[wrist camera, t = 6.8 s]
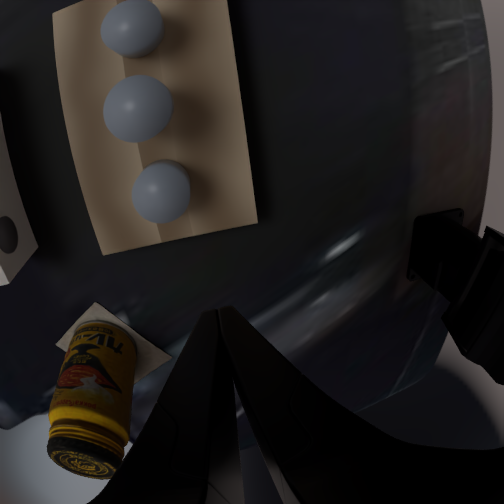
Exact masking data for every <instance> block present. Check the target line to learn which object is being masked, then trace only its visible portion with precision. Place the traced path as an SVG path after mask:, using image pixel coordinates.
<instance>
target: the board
mask: <svg viewBox="0 0 504 504" xmlns="http://www.w3.org/2000/svg"><path fill="white" fill-rule="evenodd" d="M123 1H126V0H84V1H81V2H79V3H76V4H73V5H71V6H69V7H66V8H64V9H62V10H59V11H57V12H55V13H53V31H54V45H55V56H56V66H57V74H58V81H59V88H60V95H61V101H62V107H63V113H64V118H65V123H66V128H67V133H68V138H69V142H70V146H71V151H72V155H73V159H74V163H75V167H76V171H77V175H78V178H79V182H80V186H81V189H82V193H83V196H84V199H85V203H86V206H87V209H88V212H89V215H90V219H91V222H92V225H93V228H94V231H95V234H96V236H97V239H98V242H99V245H100V248H101V250H102V253H103V255H108V254H112V253H116V252H121V251H125V250H130V249H134V248H139V247H143V246H148V245H152V244H157V243H162V242H166V241H171V240H176V239H180V238H185V237H190V236H195V235H200V234H205V233H209V232H214V231H219V230H224V229H229V228H234V227H239V226H245V225H250V224H255V223H258V221H257V213H256V205H255V198H254V190H253V183H252V175H251V168H250V160H249V153H248V145H247V138H246V131H245V124H244V116H243V109H242V102H241V95H240V88H239V81H238V74H237V67H236V60H235V53H234V46H233V39H232V32H231V25H230V19H229V12H228V5H227V0H148V1H150V2H152V3H153V4H154V5H156V7H157V8H158V9H159V11H160V14H161V17H162V20H163V23H164V27H165V32H164V37H163V39H162V41H161V43H160V44H159V46H158V47H157V48H156V49H155V50H153V51H152V52H151V53H149V54H147V55H145V56H142V57H139V58H126V57H123V56H121V55H119V54H118V53H116V52H115V51H113V50H111V49H110V48H108V47H107V46H106V45H105V44H104V42H103V40H102V38H101V25H102V22H103V19H104V18H105V16H106V15H107V13H108V12H109V11H110V10H111V9H112V8H113V7H115V6H116V5H118V4H119V3H121V2H123ZM134 75H147V76H151V77H153V78H155V79H157V80H159V81H160V82H161V83H163V84H164V85H165V86H166V87H167V88H168V89H169V90H170V92H171V94H172V96H173V100H174V112H173V115H172V118H171V120H170V122H169V123H168V125H167V126H166V127H165V128H164V129H163V130H162V131H161V132H159V133H158V134H157V135H156V136H154V137H153V138H151V139H149V140H146V141H143V142H137V143H132V142H125V141H123V140H120V139H118V138H117V137H115V136H114V135H113V134H112V133H111V132H110V131H109V129H108V128H107V126H106V124H105V121H104V116H103V108H104V103H105V100H106V97H107V95H108V93H109V92H110V90H111V89H112V88H113V87H114V86H115V85H116V84H117V83H118V82H120V81H121V80H123V79H125V78H127V77H130V76H134ZM161 159H167V160H172V161H175V162H177V163H179V164H180V165H181V166H182V167H183V168H184V169H185V170H186V171H187V173H188V175H189V179H190V201H189V204H188V207H187V209H186V210H185V212H184V213H183V214H182V215H181V216H180V217H179V218H177V219H176V220H174V221H172V222H168V223H153V222H150V221H148V220H146V219H144V218H143V217H142V216H141V215H140V214H139V213H138V212H137V211H136V209H135V207H134V205H133V202H132V188H133V185H134V183H135V181H136V179H137V178H138V176H139V175H140V174H141V172H142V171H143V169H144V168H145V167H146V166H147V165H149V164H150V163H152V162H154V161H157V160H161Z"/></svg>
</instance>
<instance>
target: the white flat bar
mask: <svg viewBox="0 0 504 504" xmlns="http://www.w3.org/2000/svg"><path fill="white" fill-rule="evenodd" d="M37 248H38V245H37V242H36V240H35V237H34V235H33V232H32V229H31V227H30V224H29V221H28V218H27V215H26V213H25V210H24V207H23V204H22V200H21V197H20V194H19V191H18V187H17V184H16V181H15V177H14V173H13V170H12V166H11V162H10V158H9V153H8V149H7V145H6V140H5V135H4V130H3V124H2V119H1V113H0V286H1V285H5V284H9V283H10V282H11V281H12V279H13V278H14V277H15V275H16V274H17V273H18V271H19V270H20V269H21V268H22V266H23V265H24V264H25V263H26V261H27V260H28V259H29V258H30V257H31V255H32V254H33V253H34V252H35V250H36V249H37Z"/></svg>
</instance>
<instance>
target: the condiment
mask: <svg viewBox="0 0 504 504" xmlns="http://www.w3.org/2000/svg"><path fill="white" fill-rule="evenodd" d="M56 345H57V346H58V347H60V348H61V349H63V350H64V351H66V352H67V353H66V355H65V360H64V362H63V365H62V367H61V372H60V375H59V378H58V381H57V385H56V389H55V393H54V395H53V399H52V402H51V405H50V409H49V414H48V416H49V421H50V424H51V428H50V430H49V440H48V445H47V452H48V455H49V457H50V458H51V459H52V460H53V461H54V462H55V463H56V464H57V465H59V466H61V467H62V468H64V469H66V470H68V471H70V472H72V473H74V474H77V475H80V476H84V477H88V478H94V479H101V480H103V479H111V477H112V476H113V474H114V473H115V471H116V470H117V468H118V467H119V465H120V464H121V462H122V459H123V457H124V447H125V446H126V445H127V443H128V441H129V436H130V424H131V410H132V395H133V386H134V384H135V383H136V382H138V381H139V380H141V379H142V378H143V377H145V376H146V375H148V374H149V373H150V372H151V371H153V370H155V369H157V368H158V367H159V366H161V365H162V364H163V363H165V362H167V361H168V360H170V359H171V358H172V357H171V356H169V355H168V354H166V353H164V352H163V351H162V350H161V349H159V348H157V347H155V346H154V345H153V344H151V343H150V342H149V341H147V340H145V339H144V338H143V337H141V336H140V335H139V334H138V333H136V332H135V331H134V330H133V329H131V328H130V327H129V326H127V325H126V324H124V323H123V322H122V321H121V320H119V319H118V318H117V317H115V316H114V315H113V314H111V313H110V312H108V311H107V310H106V309H105V308H104V307H102V306H101V305H99V304H98V303H96V302H95V303H94V304H93V305H92V306H91V307H90V308H89V309H88V310H87V311H86V312H85V313H84V314H83V315H82V316H81V317H80V318H79V319H78V320H77V321H76V322H75V324H74V325H73V326H72V327H71V328H70V329H69V330H68V331H67V332H66V334H65V335H64V336H63V337H62V338H61V339H60V340H59V342H58V343H57V344H56ZM138 352H139V354H138Z"/></svg>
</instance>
